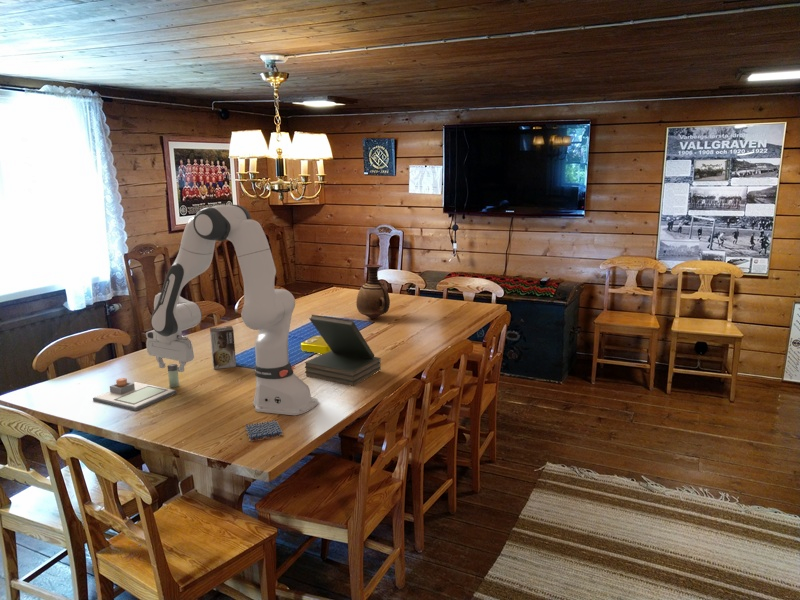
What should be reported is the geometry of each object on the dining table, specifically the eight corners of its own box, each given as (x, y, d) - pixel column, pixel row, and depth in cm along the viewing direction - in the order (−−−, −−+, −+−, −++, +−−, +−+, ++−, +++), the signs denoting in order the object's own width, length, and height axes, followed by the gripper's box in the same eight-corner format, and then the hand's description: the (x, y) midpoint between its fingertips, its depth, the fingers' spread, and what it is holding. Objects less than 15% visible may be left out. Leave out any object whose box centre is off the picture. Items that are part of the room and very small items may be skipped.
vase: (353, 315, 324) (352, 263, 318) (384, 313, 329) (383, 261, 323) (362, 324, 304) (361, 268, 298) (394, 322, 309) (394, 267, 303)
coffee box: (234, 362, 243) (232, 325, 240) (236, 366, 237) (234, 329, 234) (212, 364, 240) (209, 327, 237) (213, 369, 234) (210, 331, 231)
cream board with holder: (176, 392, 209) (176, 383, 208) (135, 410, 193) (134, 401, 192) (135, 384, 218) (134, 375, 217) (93, 400, 202) (92, 391, 201)
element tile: (328, 356, 253) (328, 346, 252) (299, 352, 258) (298, 342, 257) (344, 347, 266) (344, 337, 265) (316, 343, 272) (315, 333, 271)
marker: (181, 385, 217) (179, 364, 215) (174, 388, 214) (172, 367, 212) (174, 383, 218) (172, 363, 217) (167, 386, 215) (165, 366, 214)
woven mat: (277, 424, 184) (277, 418, 183) (284, 438, 174) (284, 431, 174) (244, 429, 180) (243, 423, 179) (249, 444, 170) (248, 437, 170)
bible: (380, 372, 232) (380, 312, 227) (353, 387, 215) (351, 323, 210) (334, 363, 243) (333, 305, 238) (305, 377, 226) (302, 315, 221)
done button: (129, 384, 208) (128, 379, 208) (121, 387, 205) (120, 382, 205) (122, 383, 210) (122, 377, 209) (114, 386, 207) (114, 380, 206)
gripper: (196, 335, 210) (199, 371, 213) (155, 328, 219) (158, 363, 222) (183, 339, 205) (186, 376, 208) (142, 332, 213) (145, 368, 216)
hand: (171, 369), depth 215 cm, fingers open, 8 cm apart
